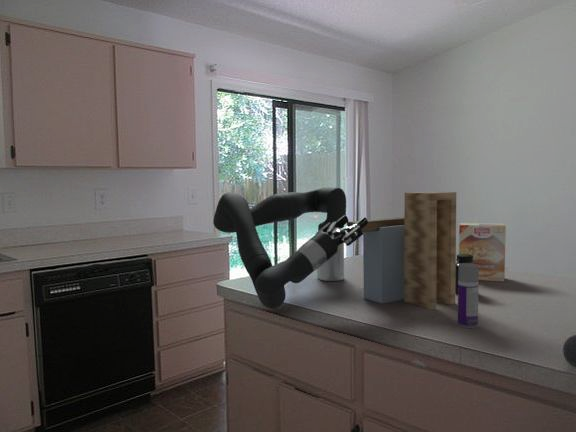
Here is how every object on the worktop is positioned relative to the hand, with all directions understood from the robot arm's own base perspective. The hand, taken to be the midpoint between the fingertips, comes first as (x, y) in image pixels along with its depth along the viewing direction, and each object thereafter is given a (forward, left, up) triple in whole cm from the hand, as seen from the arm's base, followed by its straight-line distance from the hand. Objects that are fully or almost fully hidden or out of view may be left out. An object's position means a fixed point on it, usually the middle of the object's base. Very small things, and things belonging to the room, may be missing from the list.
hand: (356, 218), depth 129 cm
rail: (-1, +10, -4) cm, 11 cm away
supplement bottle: (+9, +35, -25) cm, 44 cm away
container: (+29, +10, -25) cm, 40 cm away
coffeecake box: (-1, +57, -25) cm, 63 cm away
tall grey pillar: (-1, +11, -25) cm, 27 cm away
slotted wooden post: (+10, +18, -25) cm, 33 cm away
